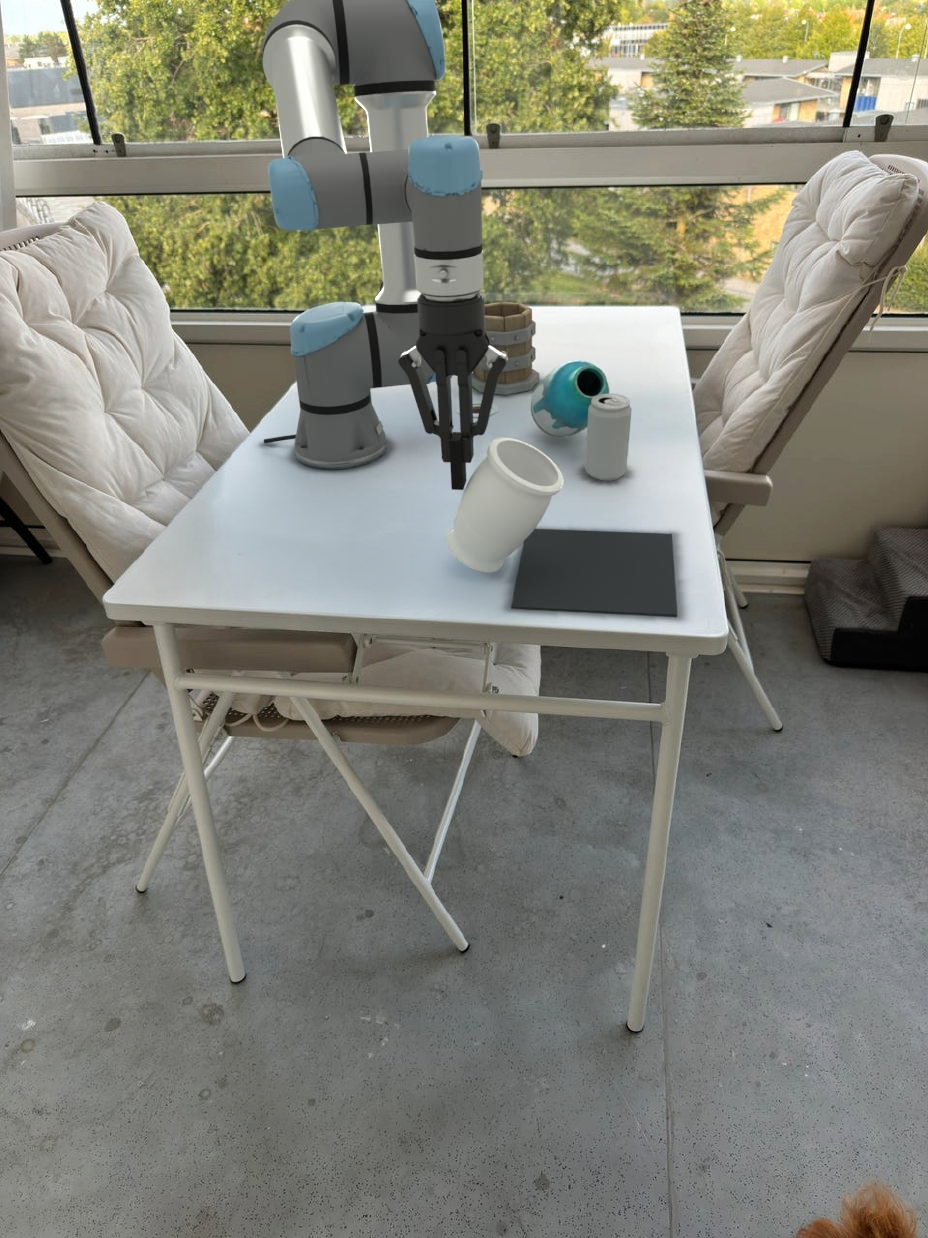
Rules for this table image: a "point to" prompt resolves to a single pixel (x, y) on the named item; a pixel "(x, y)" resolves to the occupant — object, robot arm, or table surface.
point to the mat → (597, 572)
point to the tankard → (509, 348)
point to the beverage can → (608, 436)
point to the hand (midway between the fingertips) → (459, 484)
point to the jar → (502, 503)
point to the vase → (567, 397)
